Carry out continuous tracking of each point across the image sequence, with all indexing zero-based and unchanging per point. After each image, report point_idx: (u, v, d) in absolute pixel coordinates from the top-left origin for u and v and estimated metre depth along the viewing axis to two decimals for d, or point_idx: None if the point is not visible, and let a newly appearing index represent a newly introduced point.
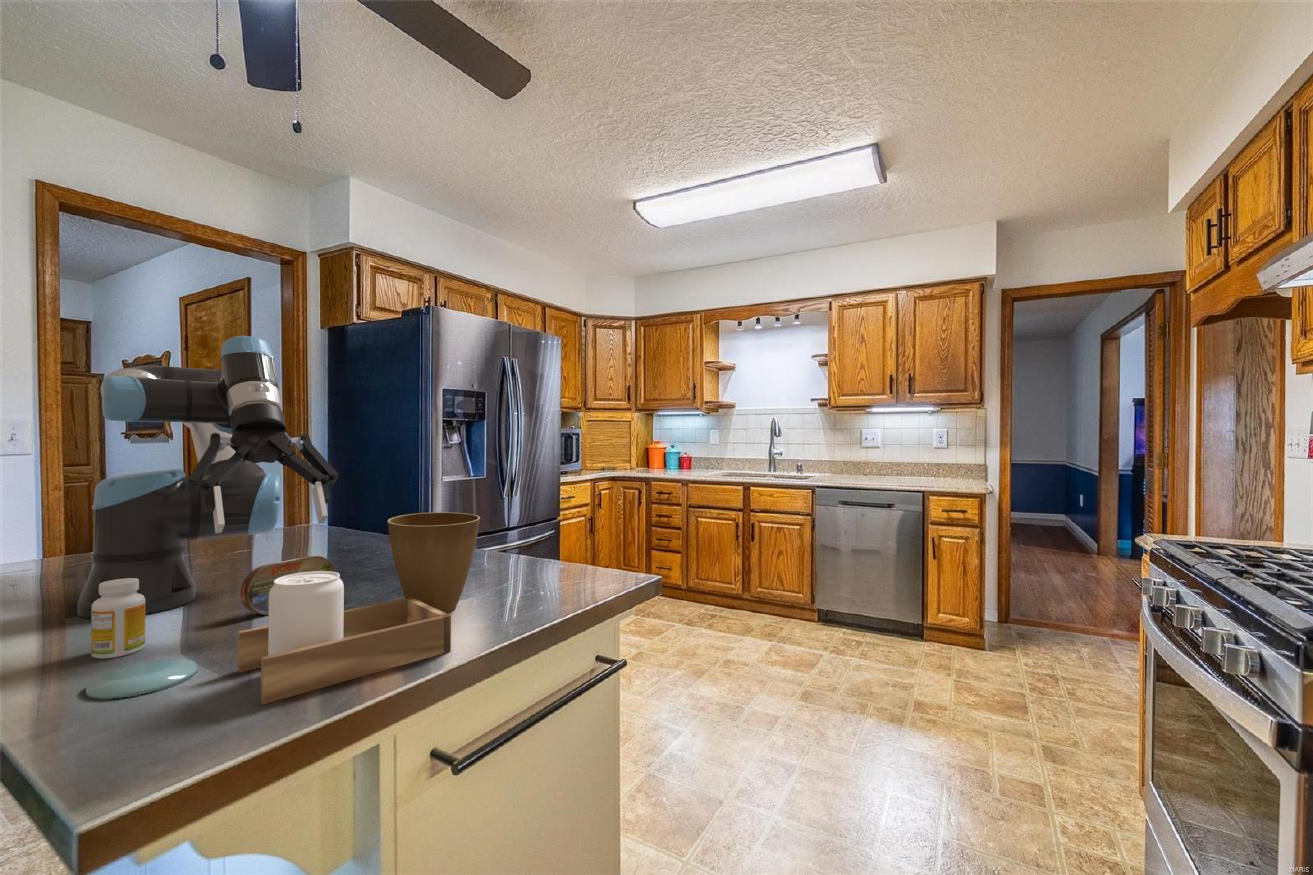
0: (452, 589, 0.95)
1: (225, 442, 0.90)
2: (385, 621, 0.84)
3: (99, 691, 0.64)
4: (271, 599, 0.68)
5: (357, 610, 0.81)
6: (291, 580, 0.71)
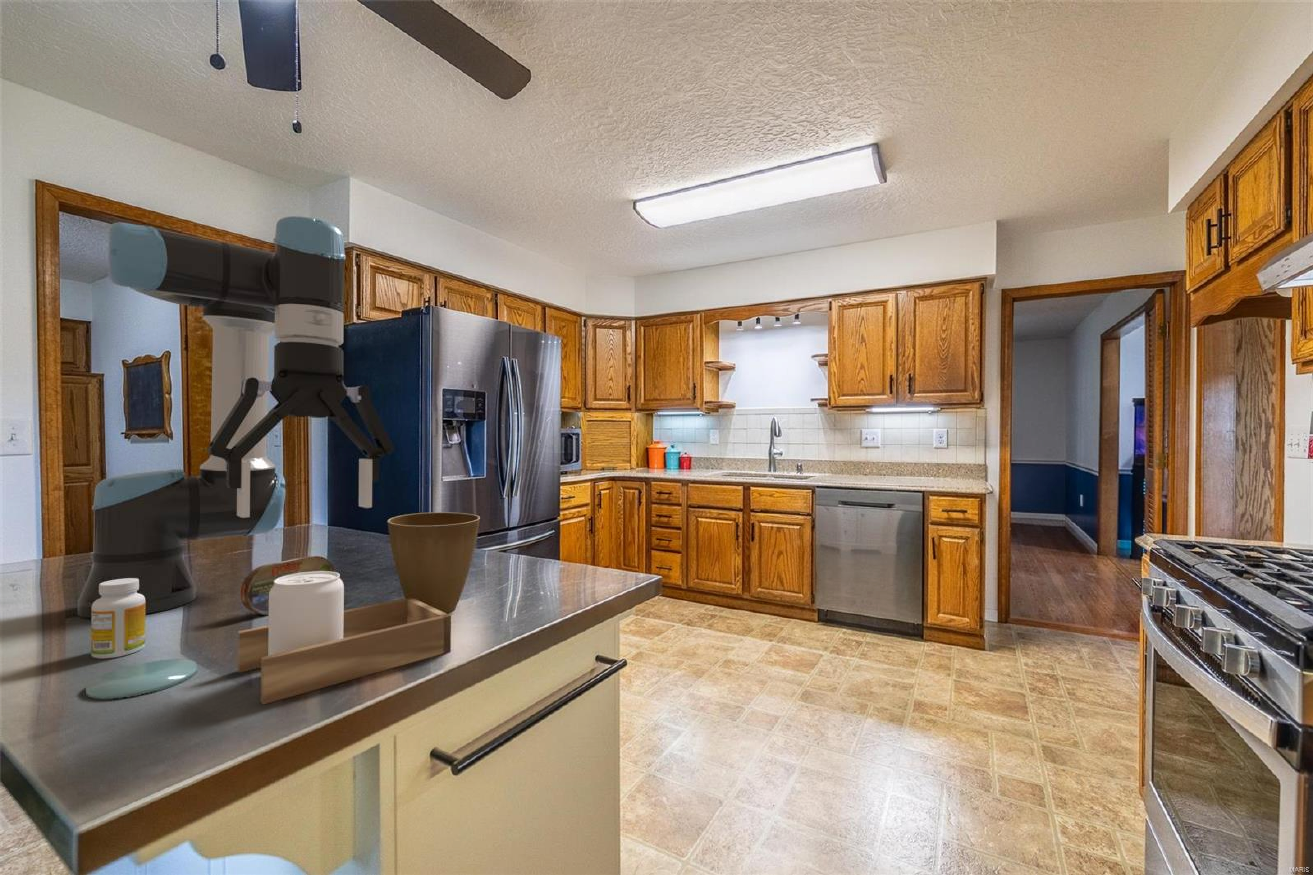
0: (452, 589, 0.95)
1: (264, 390, 0.68)
2: (385, 621, 0.84)
3: (99, 691, 0.64)
4: (271, 599, 0.68)
5: (357, 610, 0.81)
6: (291, 580, 0.71)
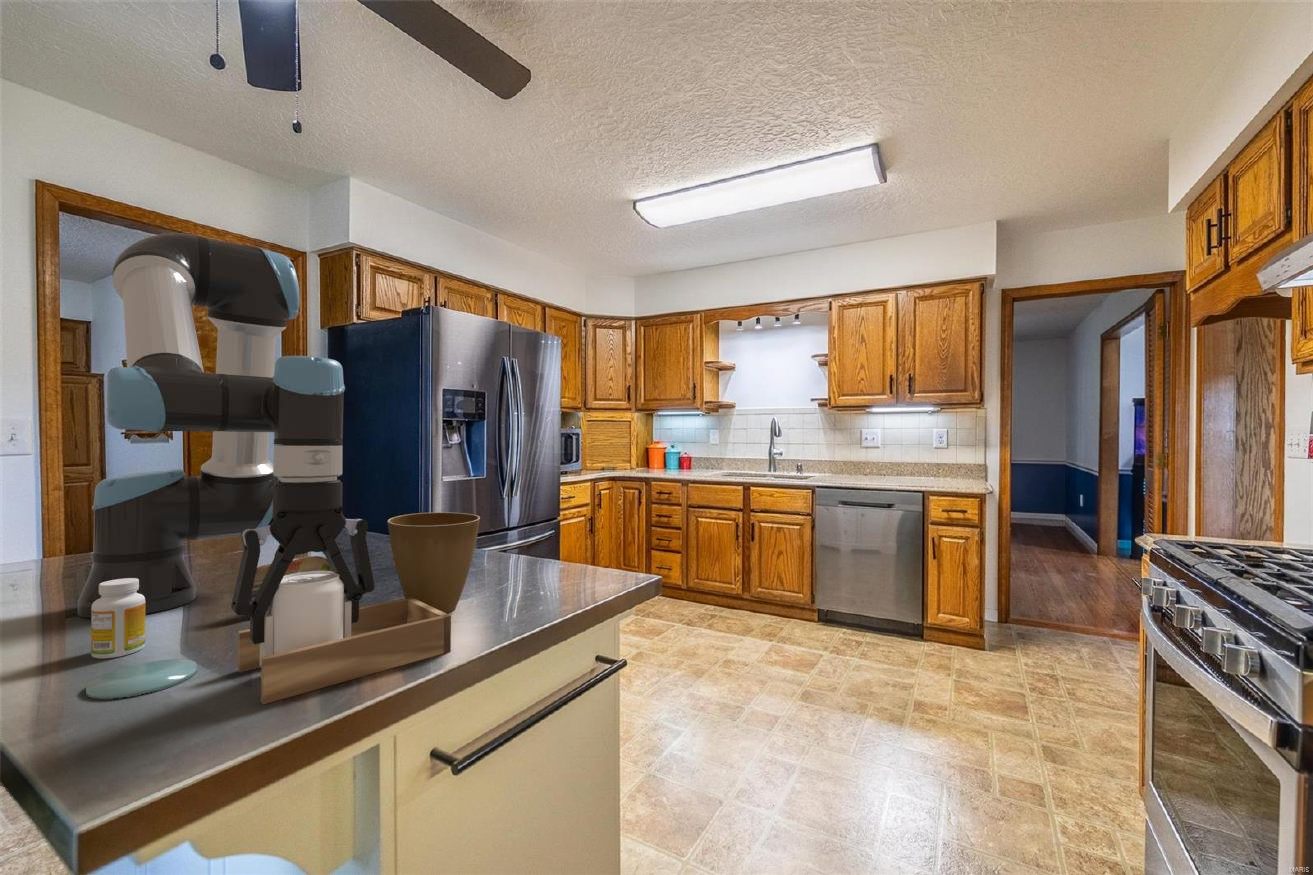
0: (452, 589, 0.95)
1: (264, 536, 0.68)
2: (385, 621, 0.84)
3: (99, 691, 0.64)
4: None
5: None
6: (291, 580, 0.71)
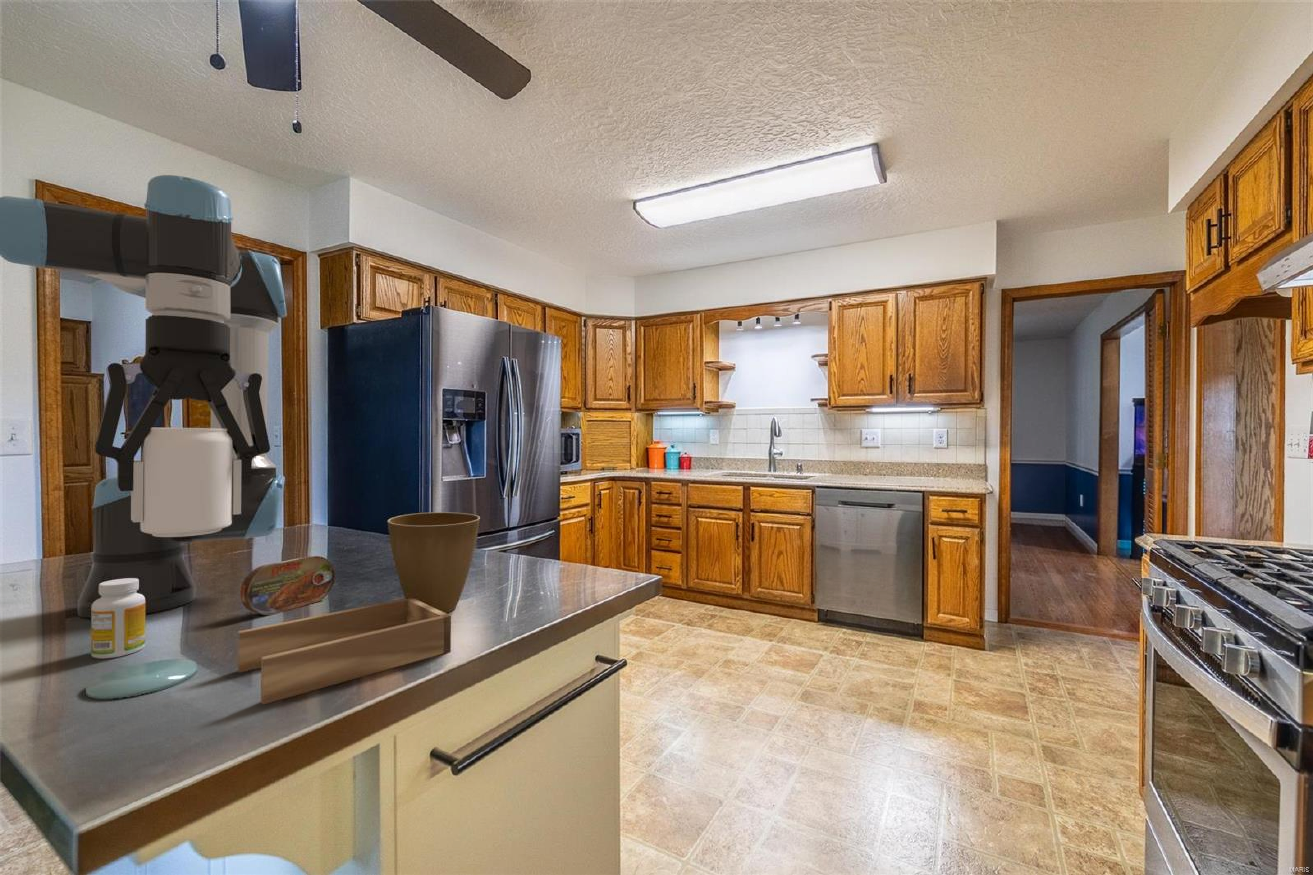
0: (452, 589, 0.95)
1: (133, 373, 0.61)
2: (385, 621, 0.84)
3: (99, 691, 0.64)
4: (142, 444, 0.62)
5: (357, 610, 0.81)
6: None
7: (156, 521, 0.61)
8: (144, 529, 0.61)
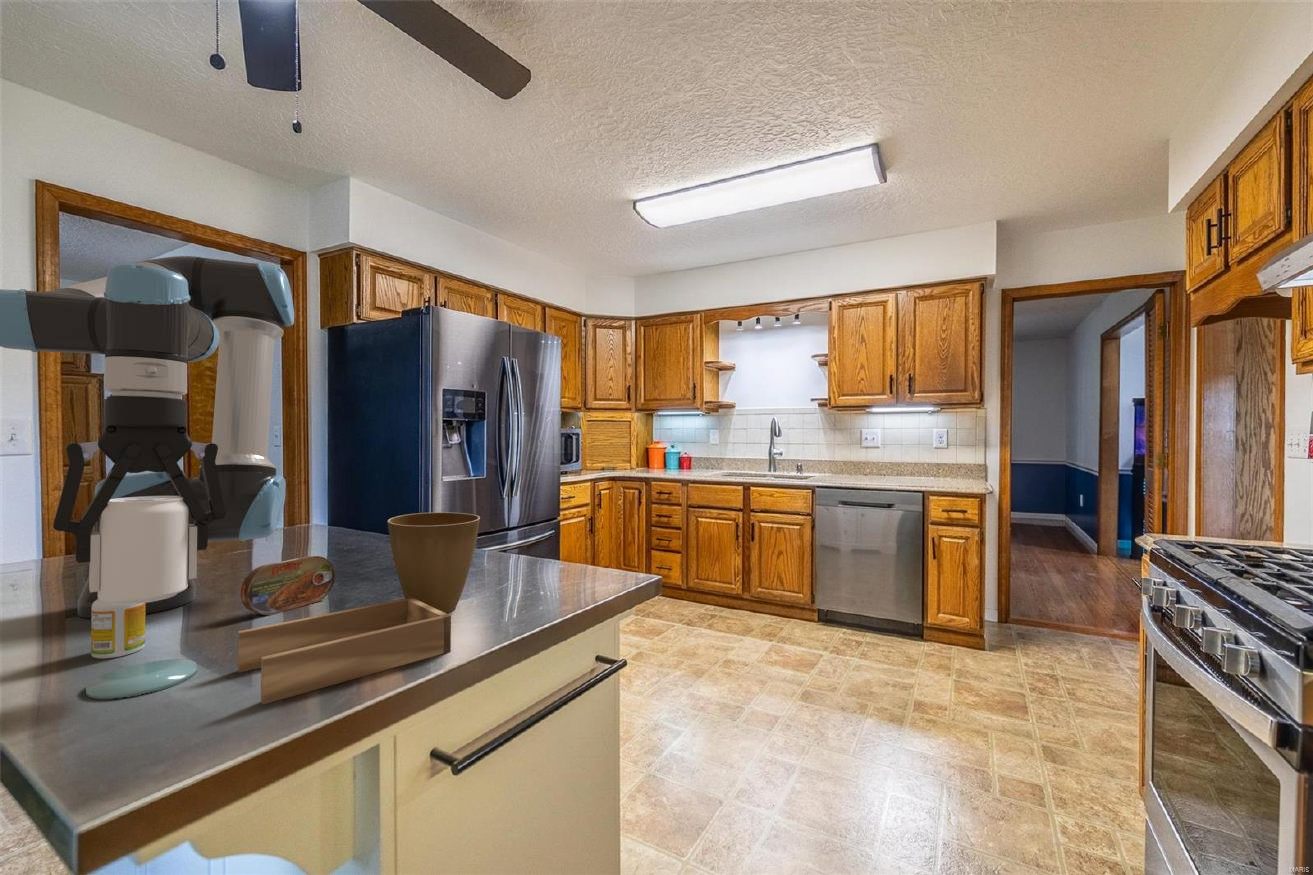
0: (452, 589, 0.95)
1: (91, 451, 0.65)
2: (385, 621, 0.84)
3: (99, 691, 0.64)
4: (99, 517, 0.65)
5: (357, 610, 0.81)
6: (127, 500, 0.68)
7: (112, 590, 0.65)
8: (100, 598, 0.65)
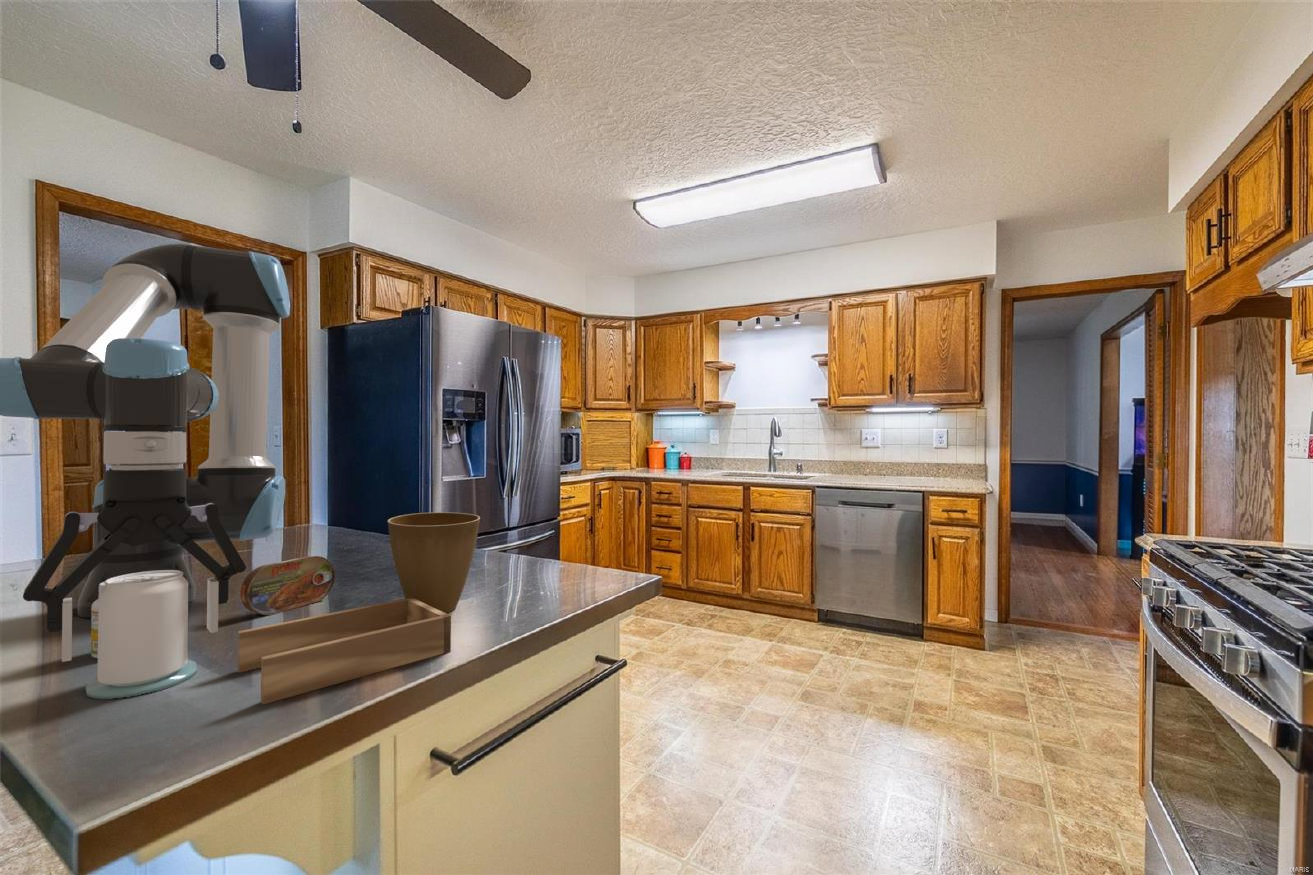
0: (452, 589, 0.95)
1: (89, 522, 0.65)
2: (385, 621, 0.84)
3: (99, 691, 0.64)
4: (99, 599, 0.65)
5: (357, 610, 0.81)
6: (126, 579, 0.68)
7: (111, 673, 0.65)
8: (100, 680, 0.65)
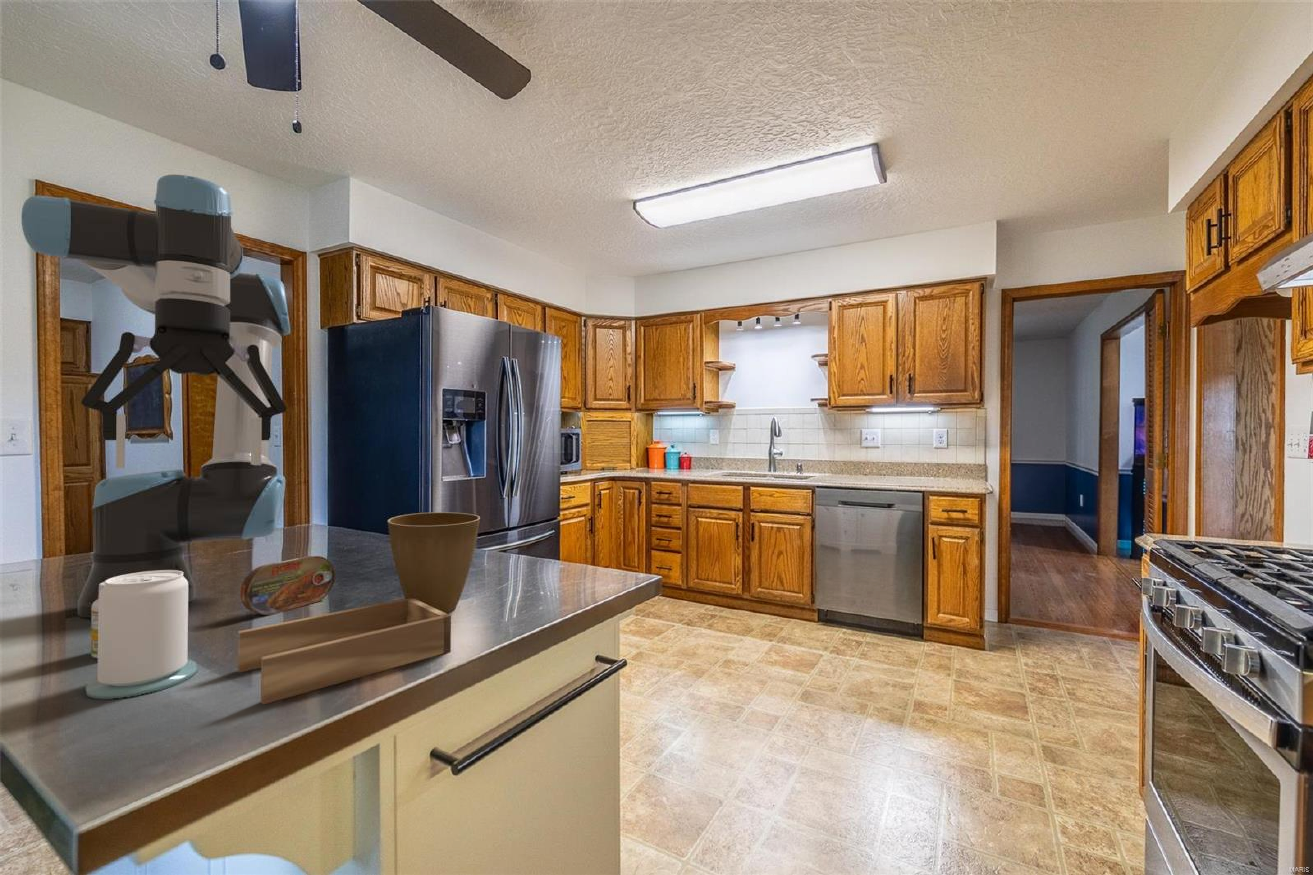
0: (452, 589, 0.95)
1: (142, 345, 0.69)
2: (385, 621, 0.84)
3: (99, 691, 0.64)
4: (99, 599, 0.66)
5: (357, 610, 0.81)
6: (126, 579, 0.68)
7: (111, 673, 0.65)
8: (100, 680, 0.65)
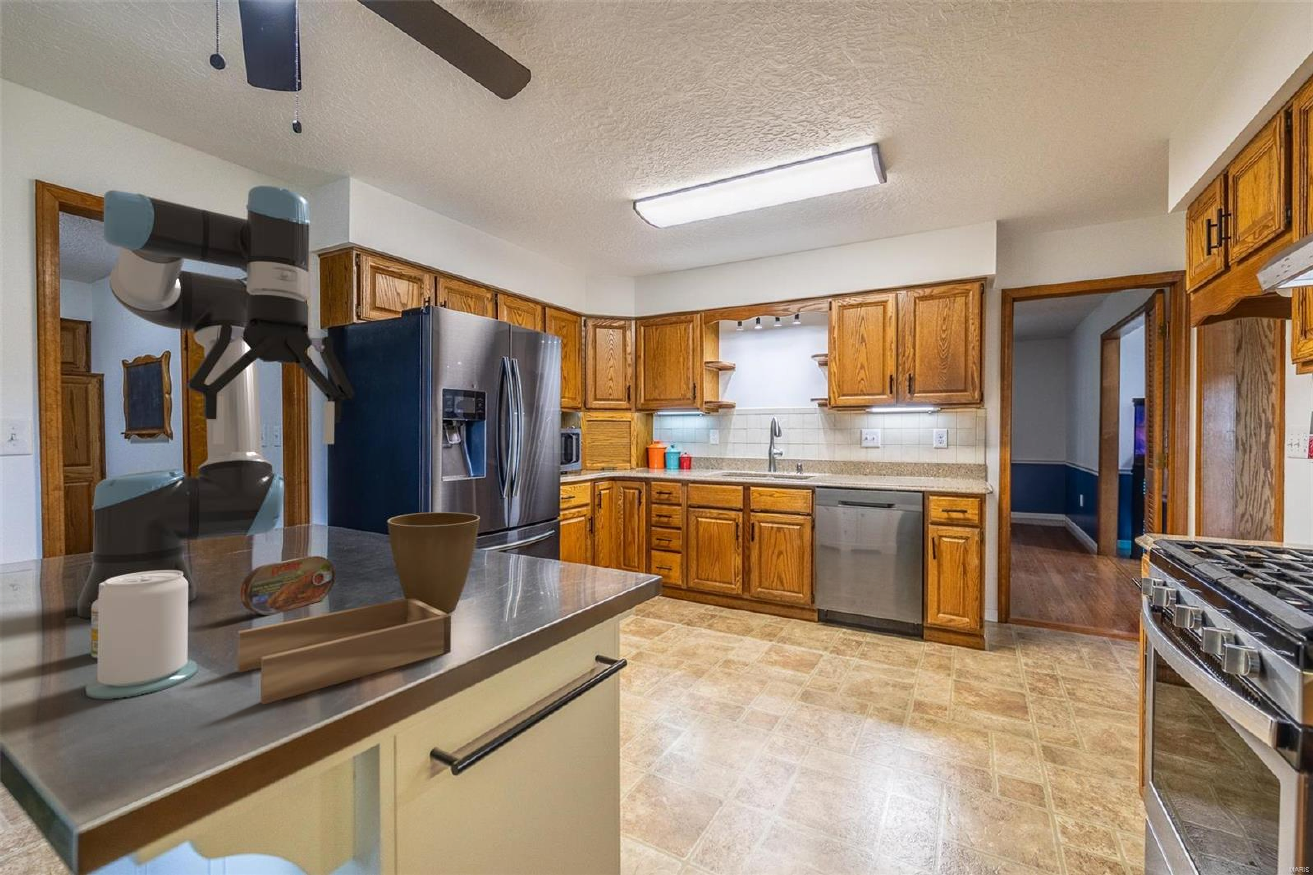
0: (452, 589, 0.95)
1: (237, 335, 0.79)
2: (385, 621, 0.84)
3: (99, 691, 0.64)
4: (99, 599, 0.65)
5: (357, 610, 0.81)
6: (126, 579, 0.68)
7: (111, 673, 0.65)
8: (100, 680, 0.65)
